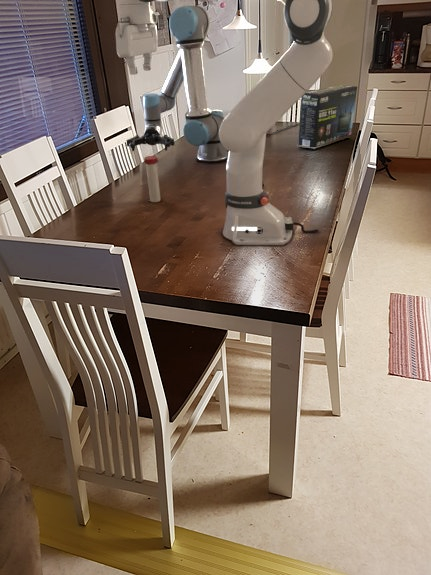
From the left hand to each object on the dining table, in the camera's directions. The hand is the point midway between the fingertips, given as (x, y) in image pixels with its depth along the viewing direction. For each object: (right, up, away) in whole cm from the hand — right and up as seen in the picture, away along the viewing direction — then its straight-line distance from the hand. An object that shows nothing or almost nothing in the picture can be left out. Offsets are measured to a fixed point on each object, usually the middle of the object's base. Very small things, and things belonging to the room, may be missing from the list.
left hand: (149, 147), depth 189 cm
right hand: (+6, +5, -56) cm, 57 cm away
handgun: (+42, -12, +6) cm, 44 cm away
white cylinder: (+4, -24, -10) cm, 26 cm away
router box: (+86, +19, +55) cm, 104 cm away
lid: (+3, -10, -19) cm, 21 cm away
